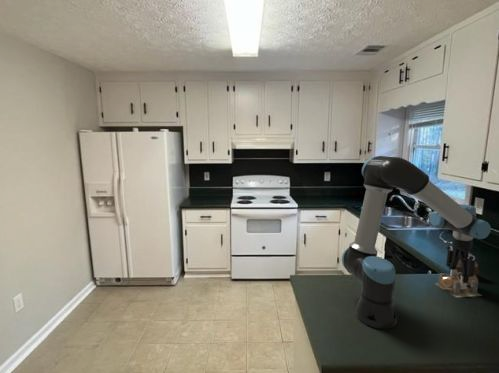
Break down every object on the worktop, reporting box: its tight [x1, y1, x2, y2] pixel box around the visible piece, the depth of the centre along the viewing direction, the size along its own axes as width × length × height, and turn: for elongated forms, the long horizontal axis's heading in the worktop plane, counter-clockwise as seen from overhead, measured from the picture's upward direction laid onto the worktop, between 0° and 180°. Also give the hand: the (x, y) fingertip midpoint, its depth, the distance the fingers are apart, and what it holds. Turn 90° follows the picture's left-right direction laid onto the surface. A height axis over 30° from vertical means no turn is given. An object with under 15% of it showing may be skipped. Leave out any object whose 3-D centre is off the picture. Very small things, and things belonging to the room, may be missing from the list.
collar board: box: [434, 272, 483, 298], centre depth 131 cm, size 13×13×7 cm
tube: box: [438, 275, 479, 288], centre depth 130 cm, size 16×5×5 cm, turn 97°
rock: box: [456, 258, 480, 277], centre depth 144 cm, size 12×10×10 cm
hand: (457, 285), depth 131 cm, fingers closed on tube, 5 cm apart
